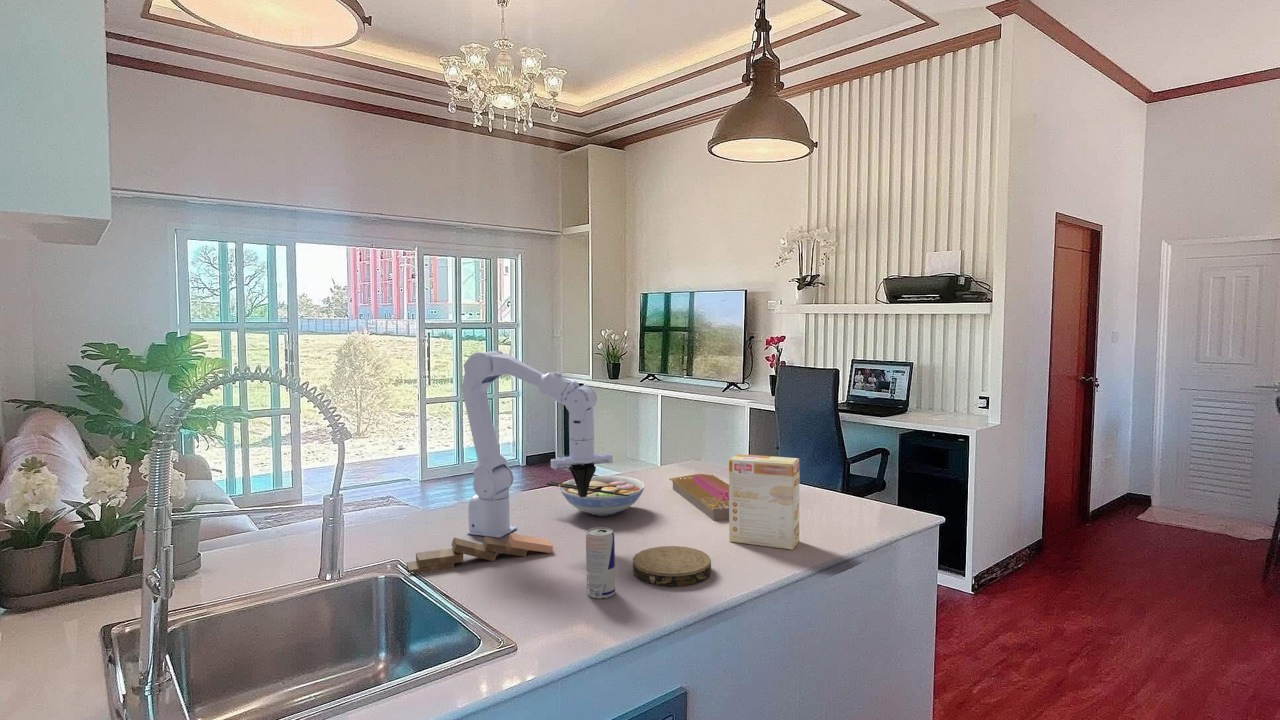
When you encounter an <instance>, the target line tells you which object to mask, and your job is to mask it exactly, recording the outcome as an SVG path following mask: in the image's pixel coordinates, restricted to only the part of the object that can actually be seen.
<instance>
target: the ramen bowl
mask: <svg viewBox="0 0 1280 720" xmlns="http://www.w3.org/2000/svg"><path fill="white" fill-rule="evenodd" d="M645 485H646V484H645V481H642V480H640V479H638V478H633V477H630V476H621V475H593V476H592V479H591V481H590V484H589V488H588V492H587V497H580V496H579V495H578V490H577V486H576V483H575V480H574V478H571V479H569V480H567V481H565V482H560V481H556V480H555V481H554V480H552V481H551V482H547V483H546V486H548V487H549V486H550V487H551V486H552V487H558V488H559V490H560V491H561V494H562V496H563V497H564V498H565V500H566V501H567V502H568V503H569V504H570V505H571V506H572V507H574V508H575V509H577V510H578V511H581V512H583V513H584V512H585V513H588V514H590V515H591V514H592V515H593V516H595V515H597V517H608V515H609V516H612V515H615V514H617V513H618V512H622V511H624V510H627V509H628V508H630V507H631V506H632V505H634V504H635V503H637V501H638V500H639V498H640V497H641V496H642V494H643V492H644V490H645V487H646V486H645ZM592 515H591V516H592Z"/></svg>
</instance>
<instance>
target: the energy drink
mask: <svg viewBox="0 0 1280 720" xmlns="http://www.w3.org/2000/svg"><path fill="white" fill-rule="evenodd" d="M615 546H616V545H615V533H614V530H613V529H612V528H609V527H603V526H602V527H601V526H599V527H593V528H590V529H588V530H587V531H586V535H585V552H586V553H585V556H586V557H585V558H586V560H585V563H586V570H585V571H586V594H587V596H588V597H590V598H591V599H595V598H597V599H598V600H603V599H602V598H605V599H608V597H609V598H611V597H613V596H614V595H615V593H616V565H615V564H616V560H615V557H616V554H615V551H616V550H615V549H616V548H615ZM612 595H613V596H612Z"/></svg>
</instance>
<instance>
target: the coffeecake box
mask: <svg viewBox="0 0 1280 720" xmlns="http://www.w3.org/2000/svg"><path fill="white" fill-rule="evenodd" d="M728 485H729V501H728V502H729V504H728V508H729V519H728V521H729V522H728V523H729V524H728V525H729V526H728V532H729V533H728V538H729V542H730V543H737V544H738V543H739V544H747V545H754V546H762V547H770V548H777V549H785V550H791V551H793V550H794V549H795V548H796V546H797V545H798V544H799V542H800V458H797V457H785V456H770V455H758V454H757V455H756V454H741V453H738V454H737V453H736V454H735V455H734V456H732V457H730V458H729V459H728Z"/></svg>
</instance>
